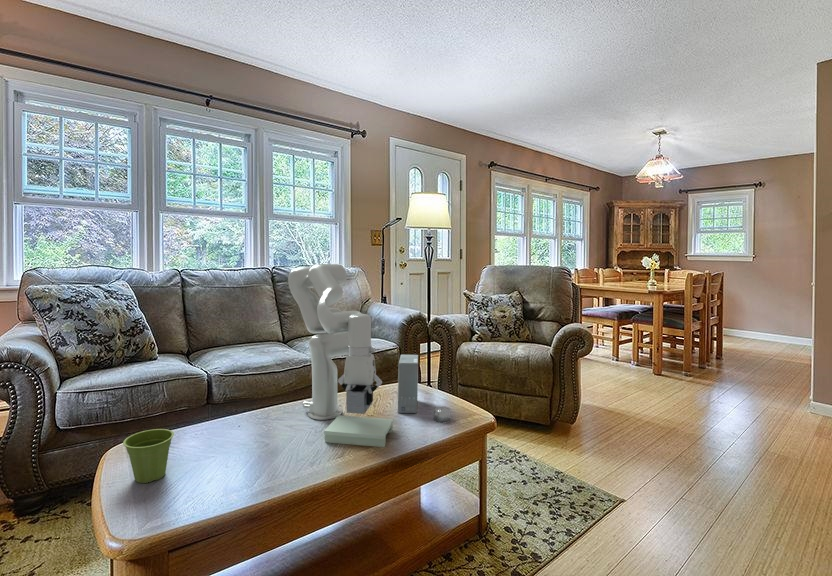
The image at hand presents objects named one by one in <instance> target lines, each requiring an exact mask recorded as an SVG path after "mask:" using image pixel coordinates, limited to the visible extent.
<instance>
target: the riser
mask: <svg viewBox="0 0 832 576" xmlns="http://www.w3.org/2000/svg"><path fill="white" fill-rule="evenodd" d="M393 429H394V418H383V417H382V418H381V417H368V416H367V417H366V416H356V415H355V416H354V415H342V414H341V415H338V416H337V417H336V418H334V420H333V421H331V423H330V424H329V425H328V426H327V427H326V428H325V429H324V431H323V435H324V443H329V444H332V443H333V444H344V445H354V446H355V445H356V446H365V447H366V446H367V447H378V448H385V446H386V443H387V441H386V437H387V434H392V433H393V431H394V430H393Z"/></svg>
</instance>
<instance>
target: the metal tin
mask: <svg viewBox="0 0 832 576" xmlns="http://www.w3.org/2000/svg"><path fill="white" fill-rule="evenodd" d="M433 413H434V414H433V420H434V421H435V422H436V423H437V422H438V423H440V424H441V423H443V422H446V423H449V422H451V408H449V407H447V406H437V407H435V408H434V410H433ZM448 421H449V422H448ZM443 424H444V423H443Z"/></svg>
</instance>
